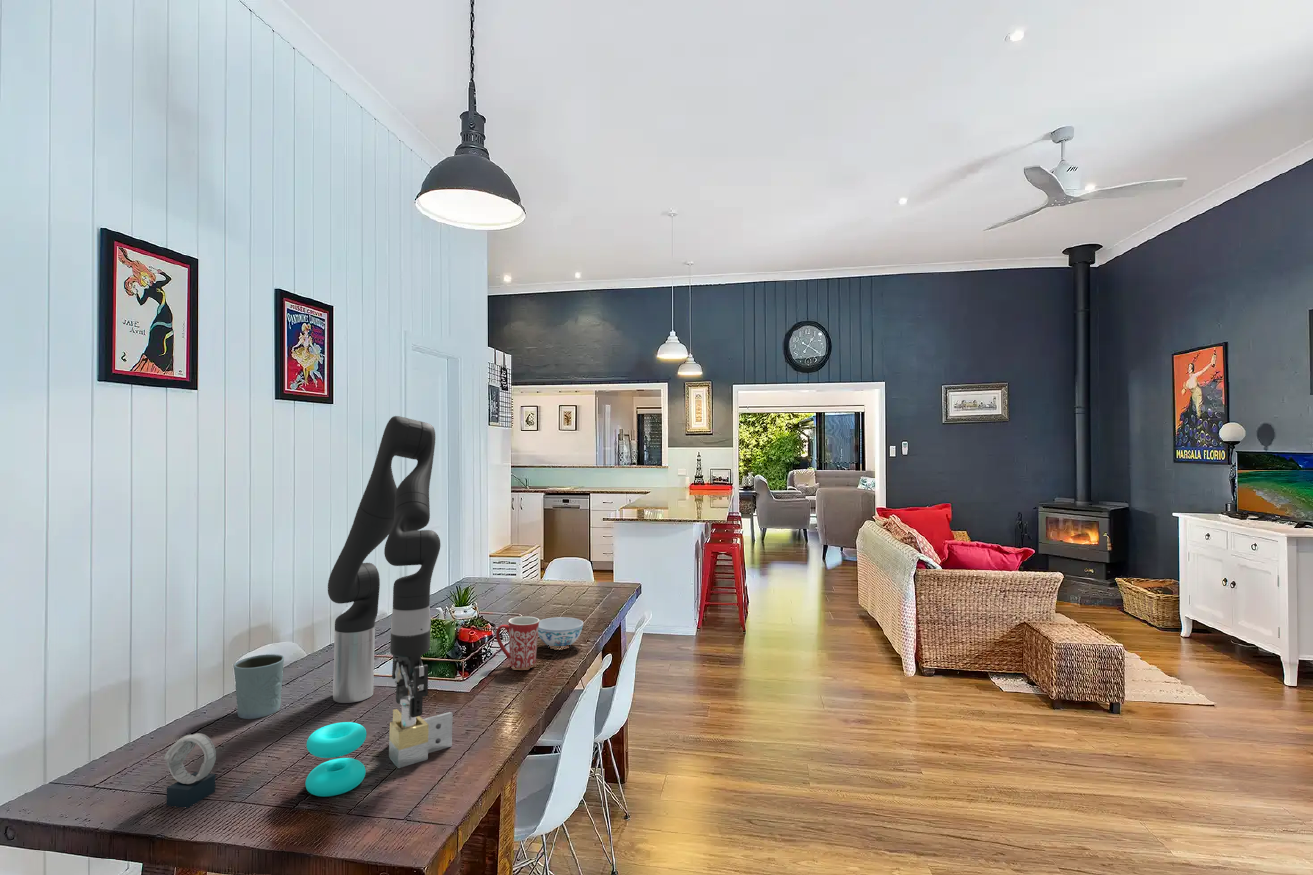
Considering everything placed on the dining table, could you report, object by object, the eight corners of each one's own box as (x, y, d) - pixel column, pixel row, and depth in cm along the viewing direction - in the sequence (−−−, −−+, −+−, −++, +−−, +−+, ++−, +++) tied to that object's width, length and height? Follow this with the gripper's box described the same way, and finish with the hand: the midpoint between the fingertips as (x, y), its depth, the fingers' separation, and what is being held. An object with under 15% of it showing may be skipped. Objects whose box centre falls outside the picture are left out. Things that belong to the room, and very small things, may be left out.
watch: (185, 788, 115) (187, 727, 115) (223, 792, 114) (225, 731, 114) (156, 804, 109) (158, 741, 110) (195, 809, 108) (197, 745, 108)
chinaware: (579, 655, 193) (579, 630, 193) (530, 654, 193) (531, 629, 194) (585, 640, 208) (586, 617, 208) (540, 640, 208) (541, 616, 208)
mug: (543, 662, 186) (543, 617, 186) (532, 673, 177) (533, 625, 177) (502, 660, 188) (503, 614, 188) (490, 670, 179) (490, 622, 179)
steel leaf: (388, 757, 128) (389, 722, 128) (445, 740, 135) (446, 707, 135) (398, 768, 123) (399, 732, 123) (456, 750, 131) (457, 716, 131)
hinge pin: (396, 757, 127) (397, 697, 128) (413, 752, 130) (414, 693, 130) (402, 764, 125) (403, 703, 125) (419, 758, 127) (420, 699, 127)
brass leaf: (379, 746, 132) (380, 712, 132) (407, 738, 136) (408, 705, 136) (398, 768, 123) (399, 732, 123) (427, 759, 127) (428, 724, 127)
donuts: (367, 716, 124) (366, 737, 114) (366, 767, 123) (364, 793, 114) (309, 724, 120) (303, 747, 110) (308, 777, 119) (302, 804, 110)
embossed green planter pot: (288, 711, 149) (290, 660, 149) (238, 724, 142) (240, 671, 142) (275, 699, 156) (276, 651, 156) (227, 711, 149) (228, 660, 149)
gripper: (442, 633, 125) (440, 716, 124) (417, 618, 136) (415, 694, 135) (403, 640, 120) (401, 726, 120) (380, 624, 131) (378, 702, 130)
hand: (408, 709), depth 127 cm, fingers open, 8 cm apart
